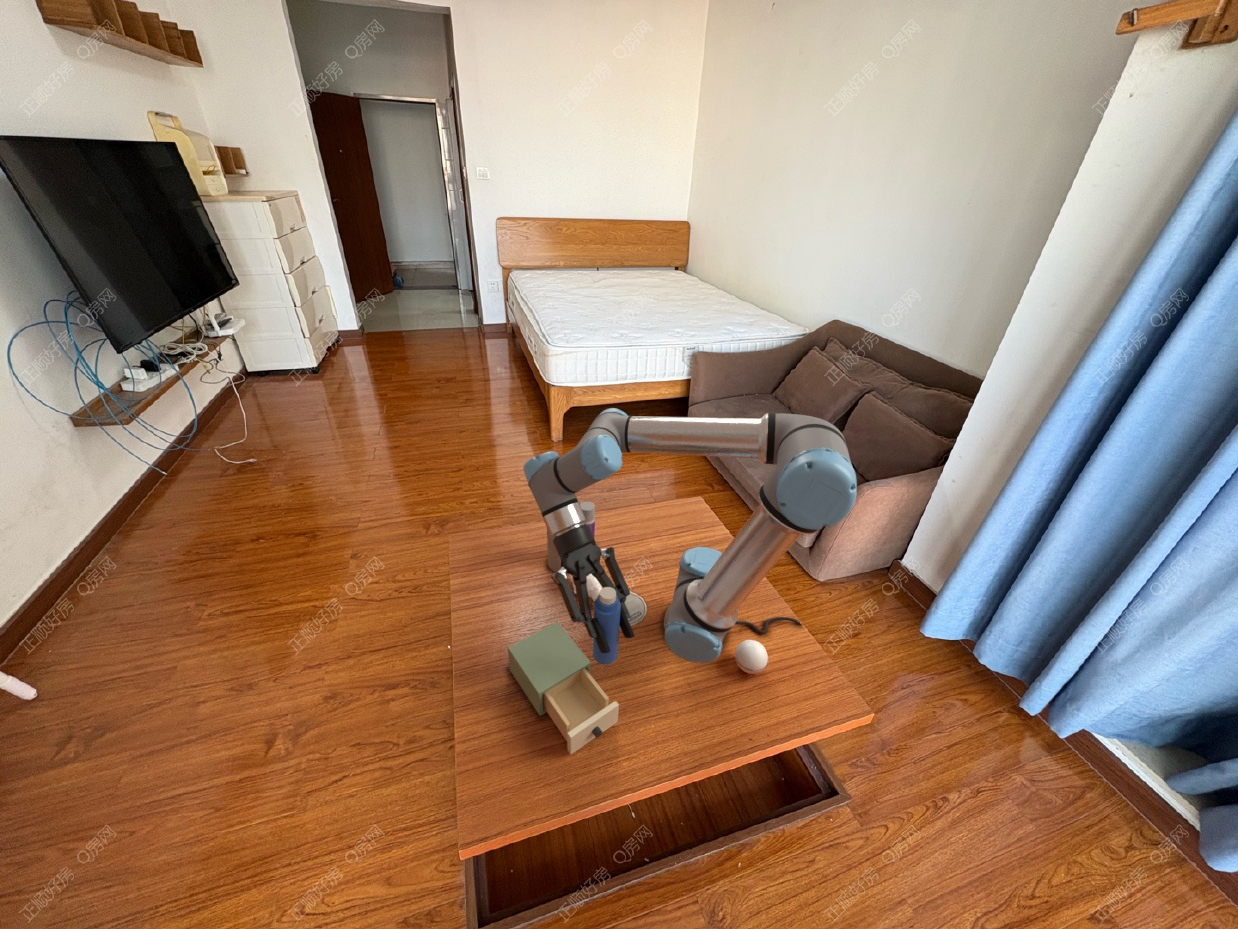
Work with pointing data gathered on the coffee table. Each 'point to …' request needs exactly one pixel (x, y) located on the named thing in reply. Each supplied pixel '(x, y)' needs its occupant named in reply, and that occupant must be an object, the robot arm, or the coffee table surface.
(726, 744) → the coffee table surface
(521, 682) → the cabinet
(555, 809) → the coffee table surface
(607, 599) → the bottle
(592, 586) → the white sculpted piece
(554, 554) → the thermos bottle
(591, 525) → the container
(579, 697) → the drawer
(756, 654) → the white oval solid
